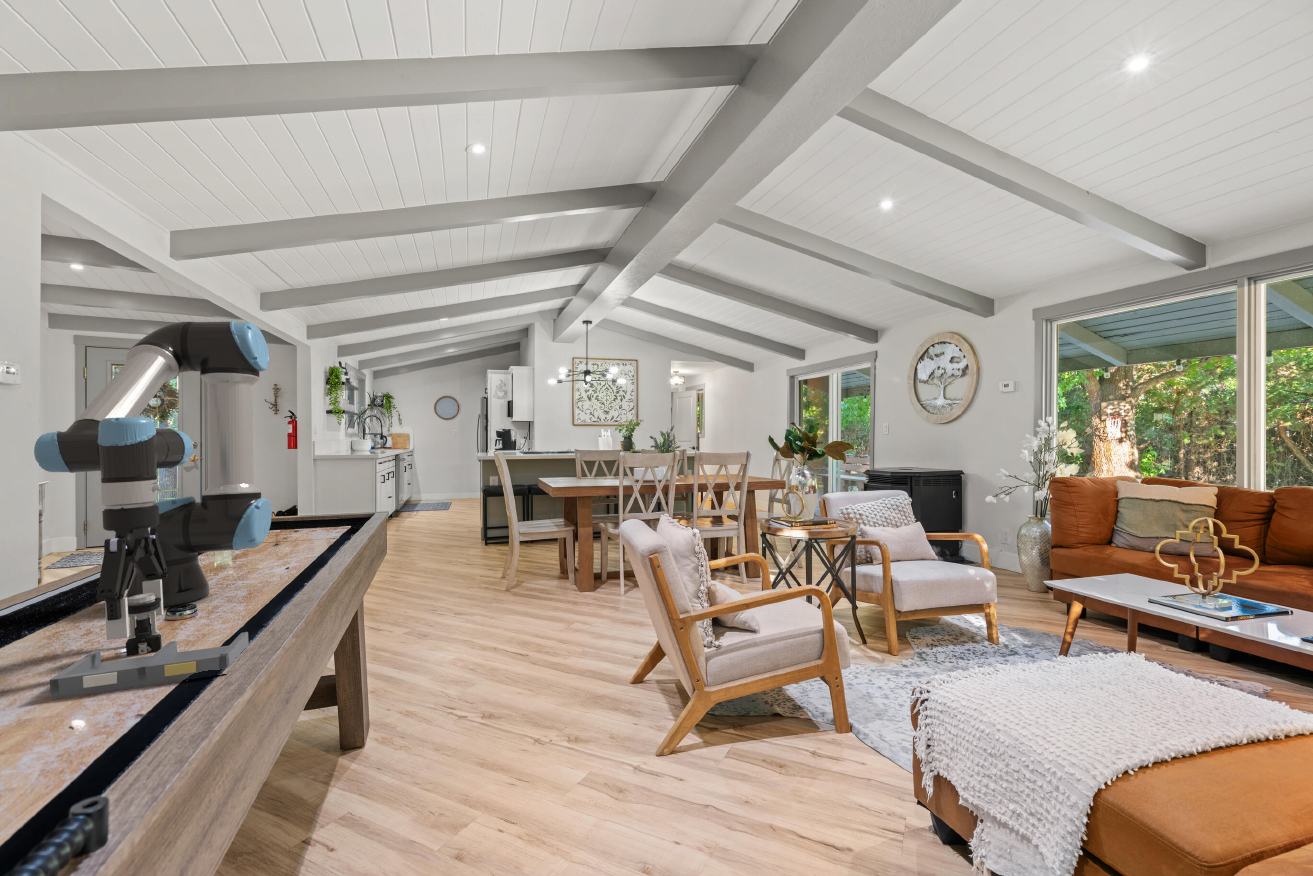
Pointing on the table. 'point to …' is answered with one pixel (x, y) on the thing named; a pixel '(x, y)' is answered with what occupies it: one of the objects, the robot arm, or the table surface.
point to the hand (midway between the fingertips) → (137, 626)
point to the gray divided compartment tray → (141, 669)
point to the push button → (142, 625)
